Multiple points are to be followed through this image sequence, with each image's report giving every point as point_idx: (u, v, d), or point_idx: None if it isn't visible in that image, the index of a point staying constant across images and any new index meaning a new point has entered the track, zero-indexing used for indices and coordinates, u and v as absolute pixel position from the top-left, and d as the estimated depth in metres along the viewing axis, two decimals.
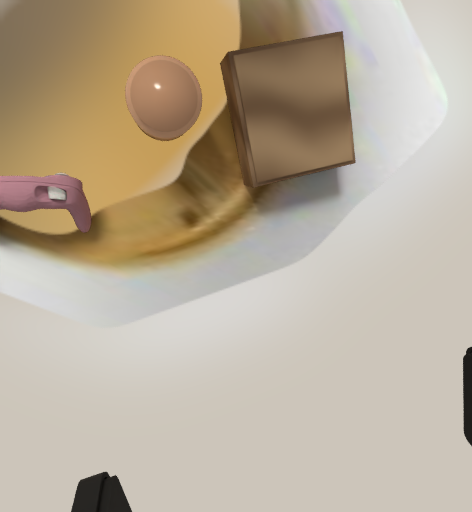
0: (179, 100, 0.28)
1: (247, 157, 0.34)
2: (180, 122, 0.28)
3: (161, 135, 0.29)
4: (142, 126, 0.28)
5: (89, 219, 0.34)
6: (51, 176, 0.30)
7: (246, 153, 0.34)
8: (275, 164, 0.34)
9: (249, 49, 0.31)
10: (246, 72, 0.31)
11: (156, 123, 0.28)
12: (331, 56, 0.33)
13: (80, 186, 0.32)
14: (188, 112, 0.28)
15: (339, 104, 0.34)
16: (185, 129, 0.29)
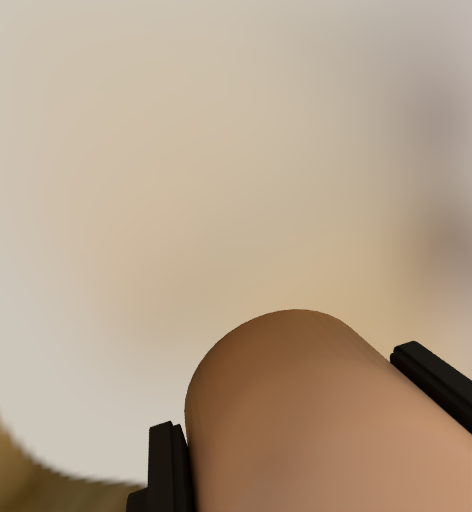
0: None
1: None
2: None
3: None
4: None
5: None
6: None
7: None
8: None
9: None
10: None
11: None
12: None
13: None
14: None
15: None
16: None
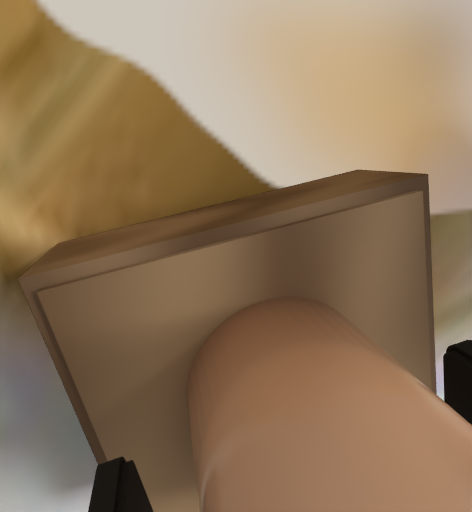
0: None
1: (130, 248, 0.10)
2: None
3: None
4: None
5: None
6: None
7: (144, 244, 0.10)
8: (112, 347, 0.10)
9: (427, 236, 0.11)
10: (379, 230, 0.11)
11: None
12: None
13: None
14: None
15: None
16: None
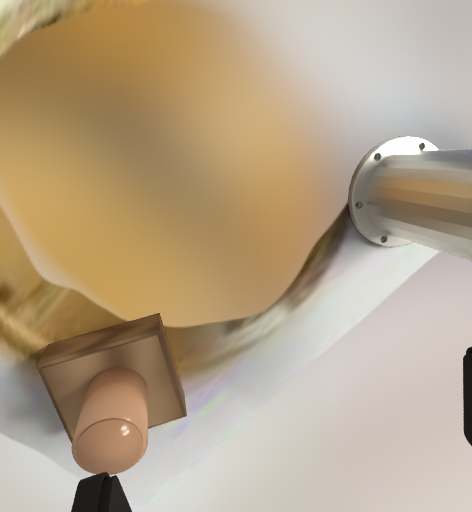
0: (107, 460, 0.29)
1: (67, 355, 0.34)
2: (86, 463, 0.29)
3: (72, 445, 0.29)
4: (80, 429, 0.28)
5: None
6: None
7: (71, 353, 0.35)
8: (62, 382, 0.35)
9: (163, 346, 0.36)
10: (144, 347, 0.35)
11: (83, 444, 0.28)
12: (165, 412, 0.38)
13: None
14: (96, 469, 0.29)
15: None
16: (80, 464, 0.29)
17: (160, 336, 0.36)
